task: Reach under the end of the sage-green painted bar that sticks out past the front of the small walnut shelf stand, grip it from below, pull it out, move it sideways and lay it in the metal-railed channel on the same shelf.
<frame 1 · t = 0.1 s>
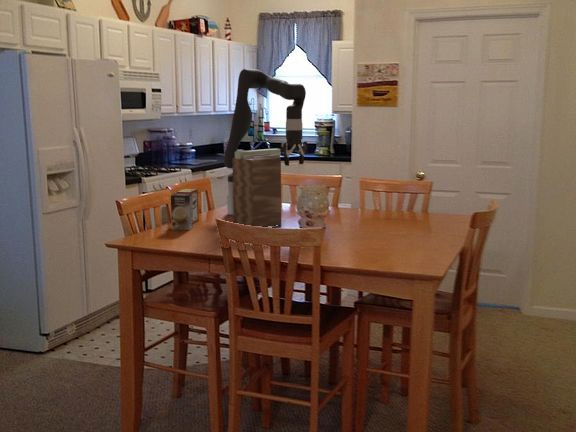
hand: (294, 164, 292), 29 cm above the table, tool pointing down, fingers open, 8 cm apart
shelf stand: (257, 225, 302), on the table
sage bar: (258, 156, 302), point 32 cm above the table, touching shelf stand
coffee box: (182, 229, 297), on the table
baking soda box: (188, 222, 311), on the table
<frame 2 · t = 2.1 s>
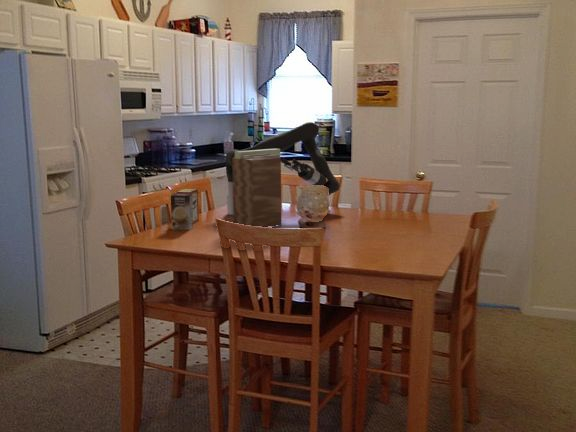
hand: (287, 160, 314), 29 cm above the table, tool pointing upward, fingers open, 8 cm apart
nothing on the table moved.
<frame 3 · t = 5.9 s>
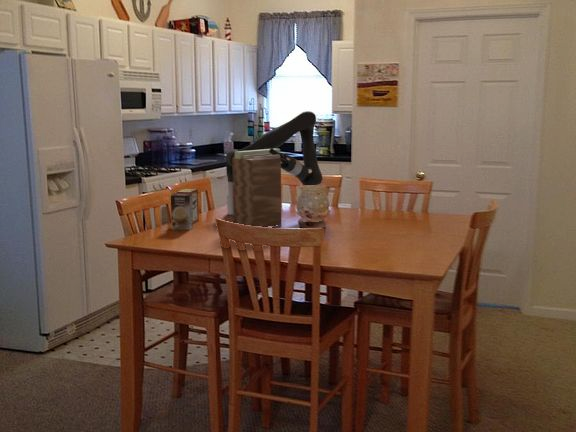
hand: (267, 149, 305), 35 cm above the table, tool pointing upward, fingers closed on sage bar, 4 cm apart
sage bar: (258, 156, 302), point 32 cm above the table, touching gripper, shelf stand
everything else where it was.
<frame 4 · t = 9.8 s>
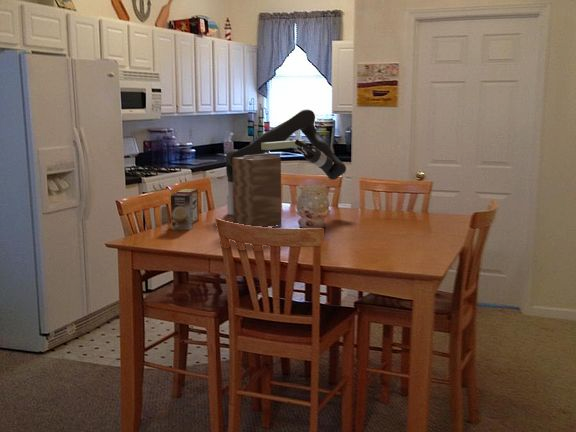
hand: (292, 141, 305), 39 cm above the table, tool pointing upward, fingers closed on sage bar, 4 cm apart
sage bar: (283, 147, 302), point 36 cm above the table, touching gripper
everything else where it was.
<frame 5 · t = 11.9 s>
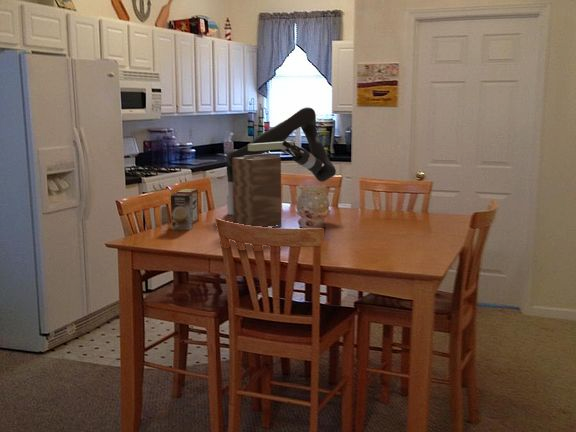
hand: (280, 142, 299), 39 cm above the table, tool pointing upward, fingers closed on sage bar, 4 cm apart
sage bar: (271, 149, 296), point 36 cm above the table, touching gripper
everything else where it was.
when the fingers open (36 cm above the table, at t = 13.8 s): sage bar stays where it is, resting on shelf stand.
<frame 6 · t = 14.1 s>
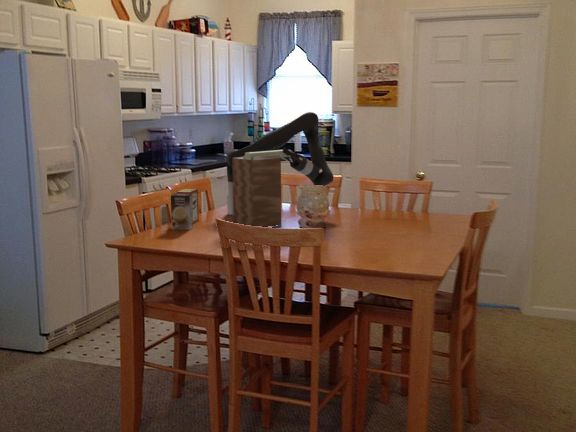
hand: (278, 149, 299), 36 cm above the table, tool pointing upward, fingers open, 6 cm apart
sage bar: (268, 157, 296), point 32 cm above the table, touching shelf stand
everything else where it was.
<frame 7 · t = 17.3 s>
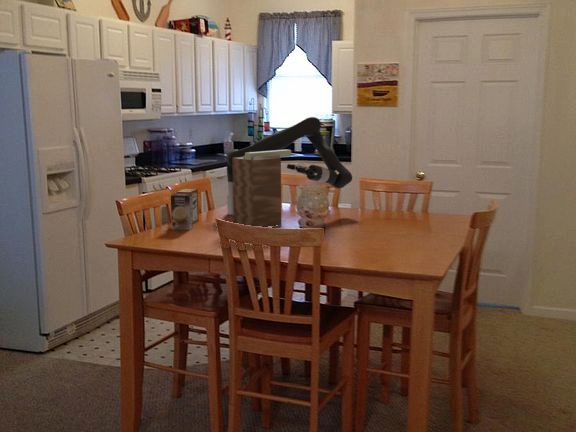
hand: (292, 167, 307), 26 cm above the table, tool horizontal, fingers open, 8 cm apart
nothing on the table moved.
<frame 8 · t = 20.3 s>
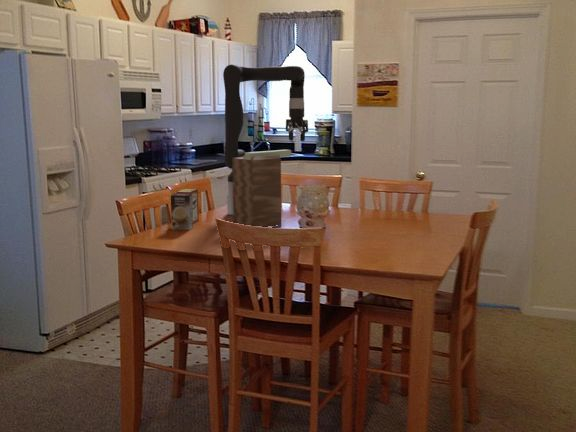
hand: (296, 140, 319), 38 cm above the table, tool pointing down, fingers open, 8 cm apart
nothing on the table moved.
at the end: sage bar 0.0 cm from the target spot on the shelf stand, point 32.0 cm above the shelf stand's base; sage bar tilted 0°; the gripper is holding nothing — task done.
